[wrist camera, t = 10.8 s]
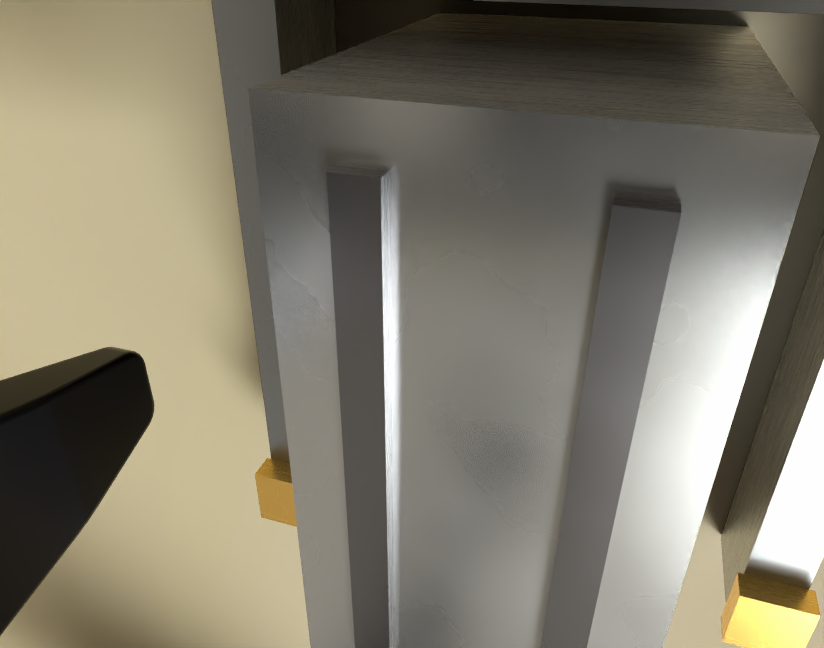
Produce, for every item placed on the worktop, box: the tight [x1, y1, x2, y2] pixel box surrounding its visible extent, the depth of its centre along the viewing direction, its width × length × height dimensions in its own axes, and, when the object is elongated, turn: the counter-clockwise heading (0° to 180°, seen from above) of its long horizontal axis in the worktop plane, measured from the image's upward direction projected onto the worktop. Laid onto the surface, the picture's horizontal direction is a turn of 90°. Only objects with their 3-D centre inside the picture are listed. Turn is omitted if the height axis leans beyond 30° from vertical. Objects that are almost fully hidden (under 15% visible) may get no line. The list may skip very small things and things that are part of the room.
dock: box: [211, 0, 824, 648], centre depth 11 cm, size 11×10×3 cm
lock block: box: [248, 13, 820, 648], centre depth 10 cm, size 8×4×6 cm, turn 0°
